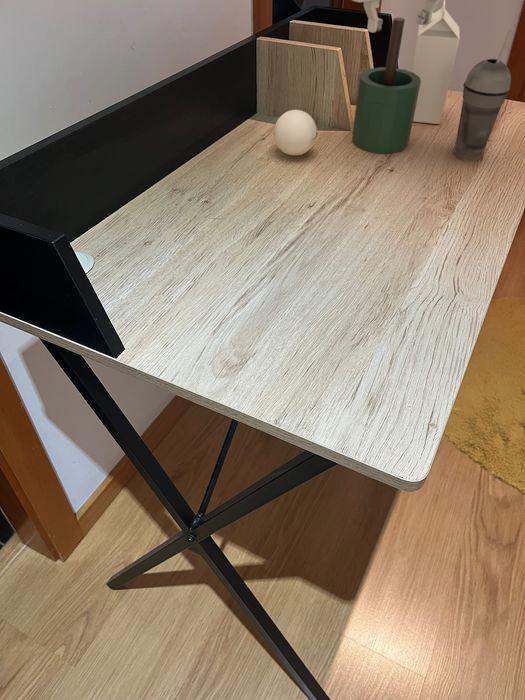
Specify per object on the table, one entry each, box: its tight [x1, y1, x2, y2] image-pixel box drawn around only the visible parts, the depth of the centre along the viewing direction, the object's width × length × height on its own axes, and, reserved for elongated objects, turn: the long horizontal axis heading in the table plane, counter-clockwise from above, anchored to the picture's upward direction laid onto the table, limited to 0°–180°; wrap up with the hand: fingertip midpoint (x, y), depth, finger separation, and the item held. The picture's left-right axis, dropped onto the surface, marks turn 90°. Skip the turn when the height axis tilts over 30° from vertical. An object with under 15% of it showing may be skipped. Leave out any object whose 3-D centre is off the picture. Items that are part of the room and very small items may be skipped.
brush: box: [383, 17, 406, 86], centre depth 96 cm, size 4×4×19 cm
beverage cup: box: [454, 29, 513, 162], centre depth 93 cm, size 7×7×20 cm
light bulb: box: [273, 109, 318, 157], centre depth 98 cm, size 10×7×7 cm
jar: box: [351, 66, 421, 155], centre depth 99 cm, size 10×10×11 cm
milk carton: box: [410, 0, 461, 125], centre depth 105 cm, size 7×7×19 cm
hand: (398, 27), depth 90 cm, fingers open, 8 cm apart
